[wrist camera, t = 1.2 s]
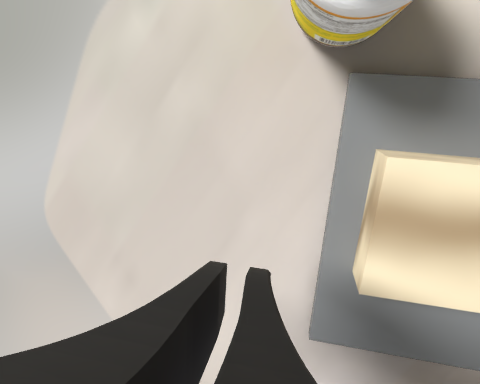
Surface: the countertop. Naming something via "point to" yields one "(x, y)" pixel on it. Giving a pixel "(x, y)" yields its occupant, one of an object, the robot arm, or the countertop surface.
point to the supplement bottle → (344, 19)
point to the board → (352, 208)
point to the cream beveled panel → (421, 230)
